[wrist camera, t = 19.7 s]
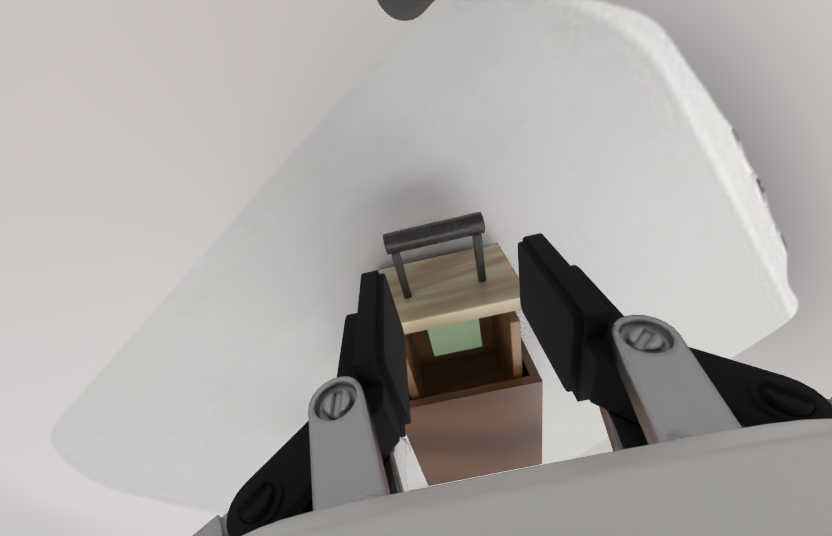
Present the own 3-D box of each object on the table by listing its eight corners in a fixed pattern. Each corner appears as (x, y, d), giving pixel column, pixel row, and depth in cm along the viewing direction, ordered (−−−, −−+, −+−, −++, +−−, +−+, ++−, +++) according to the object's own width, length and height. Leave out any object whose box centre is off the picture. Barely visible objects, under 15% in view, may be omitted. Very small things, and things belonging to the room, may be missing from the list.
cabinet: (393, 331, 36) (396, 411, 28) (506, 307, 35) (542, 381, 27) (420, 407, 44) (428, 486, 36) (512, 388, 43) (541, 464, 35)
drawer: (357, 214, 27) (348, 264, 20) (492, 182, 26) (528, 223, 20) (408, 364, 37) (413, 428, 31) (506, 343, 37) (532, 404, 30)
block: (419, 289, 30) (425, 321, 27) (466, 279, 30) (477, 310, 26) (428, 323, 33) (434, 356, 29) (471, 313, 33) (482, 346, 29)
